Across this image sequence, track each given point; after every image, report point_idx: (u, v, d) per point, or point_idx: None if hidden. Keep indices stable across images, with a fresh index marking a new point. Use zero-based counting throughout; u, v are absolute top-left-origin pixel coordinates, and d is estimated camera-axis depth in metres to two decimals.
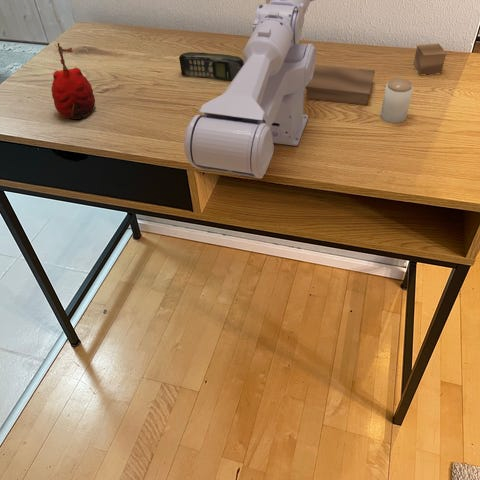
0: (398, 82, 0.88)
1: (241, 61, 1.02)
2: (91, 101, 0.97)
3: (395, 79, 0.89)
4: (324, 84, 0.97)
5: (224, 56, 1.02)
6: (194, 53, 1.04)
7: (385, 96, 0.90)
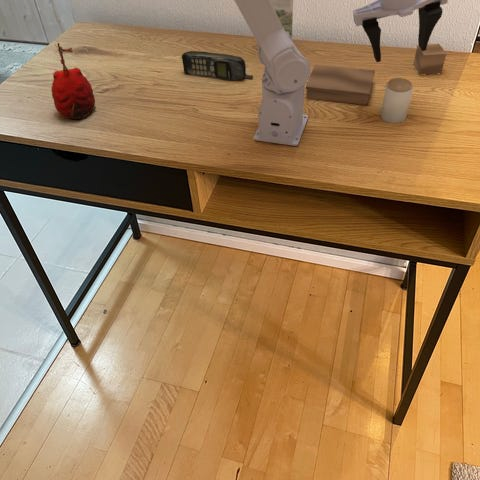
0: (398, 82, 0.88)
1: (242, 61, 1.02)
2: (91, 101, 0.97)
3: (395, 79, 0.89)
4: (324, 84, 0.97)
5: (226, 56, 1.02)
6: (197, 52, 1.04)
7: (385, 96, 0.90)
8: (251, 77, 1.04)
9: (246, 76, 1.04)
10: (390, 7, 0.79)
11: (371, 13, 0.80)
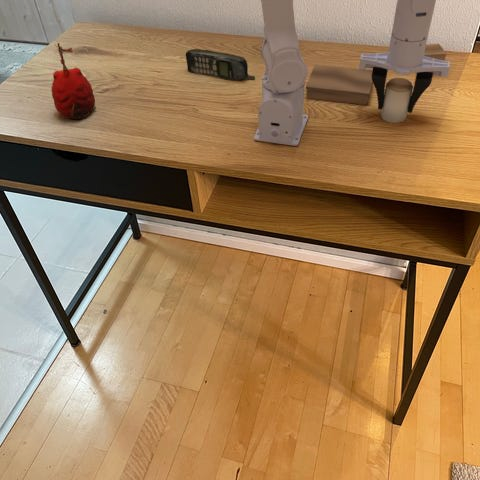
0: (398, 82, 0.88)
1: (244, 61, 1.02)
2: (91, 101, 0.97)
3: (395, 79, 0.89)
4: (324, 84, 0.97)
5: (228, 55, 1.02)
6: (200, 50, 1.05)
7: (385, 96, 0.89)
8: (253, 78, 1.04)
9: (248, 76, 1.04)
10: (391, 62, 0.84)
11: (374, 62, 0.85)
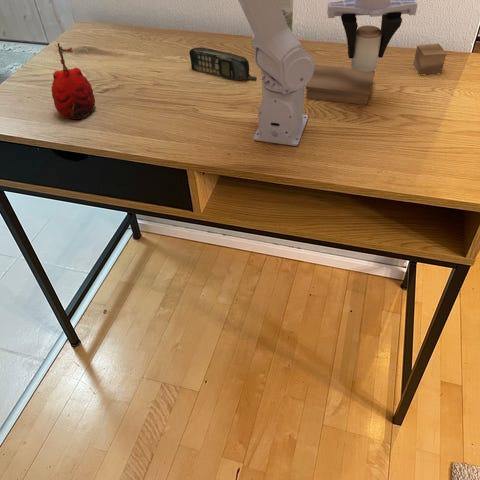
0: (366, 29, 0.88)
1: (245, 62, 1.01)
2: (91, 101, 0.97)
3: (362, 27, 0.88)
4: (324, 84, 0.97)
5: (230, 55, 1.02)
6: (204, 49, 1.05)
7: (356, 45, 0.88)
8: (254, 78, 1.04)
9: (249, 77, 1.04)
10: (362, 5, 0.83)
11: (344, 8, 0.84)
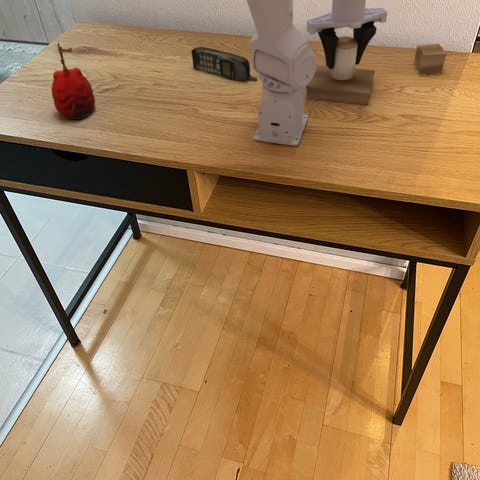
0: (343, 40, 0.93)
1: (246, 62, 1.01)
2: (91, 101, 0.97)
3: None
4: (324, 84, 0.97)
5: (231, 55, 1.02)
6: (206, 48, 1.05)
7: (337, 57, 0.93)
8: (255, 79, 1.04)
9: (250, 77, 1.04)
10: (341, 19, 0.88)
11: (324, 23, 0.88)
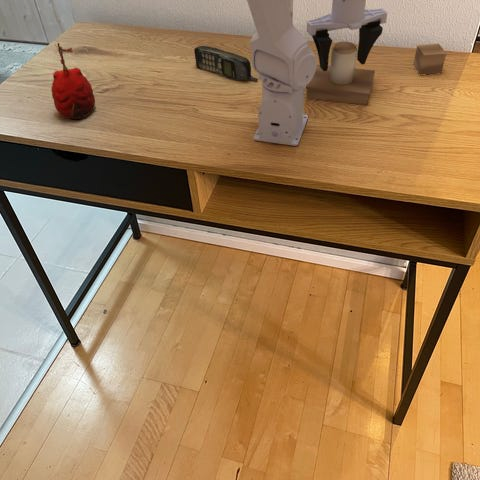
0: (342, 45, 0.94)
1: (247, 62, 1.01)
2: (91, 101, 0.97)
3: (337, 44, 0.94)
4: (324, 84, 0.97)
5: (232, 55, 1.02)
6: (208, 47, 1.06)
7: (336, 62, 0.94)
8: (255, 80, 1.04)
9: (251, 78, 1.04)
10: (341, 20, 0.88)
11: (324, 24, 0.88)
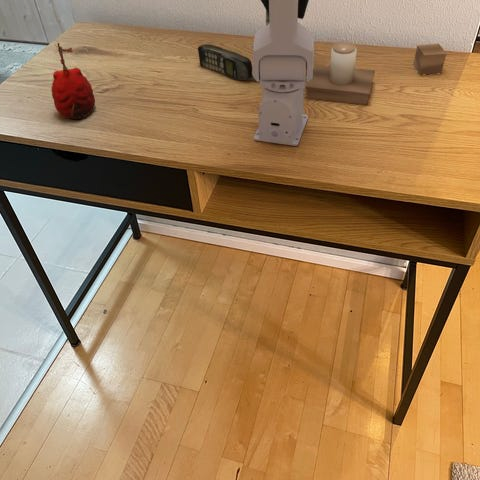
0: (342, 45, 0.94)
1: (248, 62, 1.01)
2: (91, 101, 0.97)
3: (336, 44, 0.94)
4: (324, 84, 0.97)
5: (234, 54, 1.02)
6: (212, 46, 1.06)
7: (336, 62, 0.94)
8: None
9: (252, 78, 1.04)
10: None
11: None
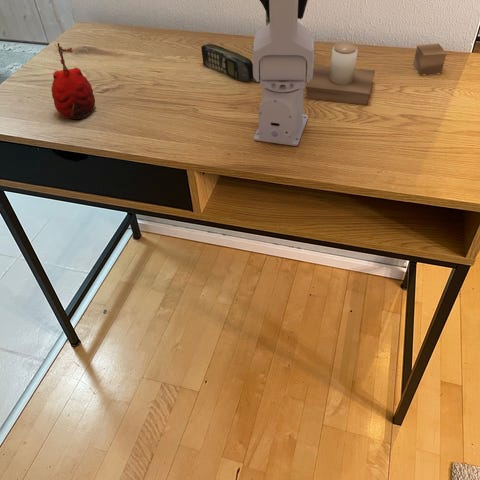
0: (343, 45, 0.93)
1: (249, 64, 1.01)
2: (91, 101, 0.97)
3: (337, 44, 0.94)
4: (324, 84, 0.97)
5: (236, 55, 1.02)
6: (215, 46, 1.06)
7: (336, 62, 0.94)
8: None
9: (253, 79, 1.03)
10: None
11: None
